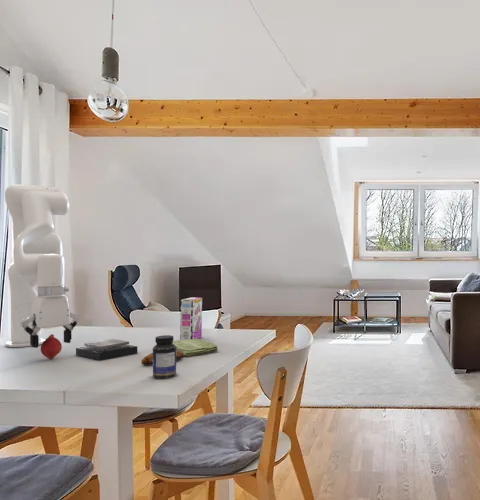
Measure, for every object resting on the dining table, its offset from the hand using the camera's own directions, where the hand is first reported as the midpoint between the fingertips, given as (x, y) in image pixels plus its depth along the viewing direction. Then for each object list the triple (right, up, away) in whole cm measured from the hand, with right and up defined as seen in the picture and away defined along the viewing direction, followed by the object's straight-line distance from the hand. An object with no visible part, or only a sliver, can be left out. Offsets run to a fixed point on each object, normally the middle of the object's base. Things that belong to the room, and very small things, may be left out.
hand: (51, 344), depth 155 cm
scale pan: (+14, -1, +7) cm, 16 cm away
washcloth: (+41, -5, +12) cm, 43 cm away
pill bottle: (+45, -5, -22) cm, 50 cm away
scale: (+14, -5, +7) cm, 17 cm away
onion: (0, -5, 0) cm, 5 cm away
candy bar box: (+34, -5, +34) cm, 48 cm away
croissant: (+38, -5, -5) cm, 39 cm away
